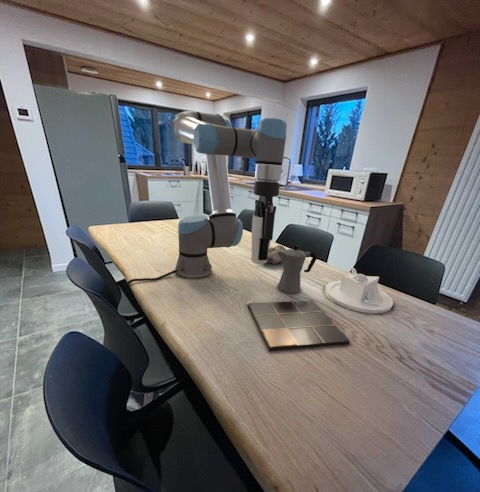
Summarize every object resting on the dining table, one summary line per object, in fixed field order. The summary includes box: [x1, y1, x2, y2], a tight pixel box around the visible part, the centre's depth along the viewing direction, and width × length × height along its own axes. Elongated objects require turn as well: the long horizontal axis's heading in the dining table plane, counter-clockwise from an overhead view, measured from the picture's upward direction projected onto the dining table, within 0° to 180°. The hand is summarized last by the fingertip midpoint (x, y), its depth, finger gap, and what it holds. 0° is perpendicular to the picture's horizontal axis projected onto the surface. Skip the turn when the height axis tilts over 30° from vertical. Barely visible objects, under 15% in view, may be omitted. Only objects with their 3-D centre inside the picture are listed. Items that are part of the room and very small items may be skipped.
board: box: [247, 300, 351, 352], centre depth 83 cm, size 24×24×1 cm
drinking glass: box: [250, 213, 272, 265], centre depth 85 cm, size 7×7×15 cm
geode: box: [266, 244, 287, 265], centre depth 133 cm, size 17×9×15 cm
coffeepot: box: [277, 244, 318, 294], centre depth 102 cm, size 15×9×18 cm, turn 92°
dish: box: [324, 266, 394, 314], centre depth 101 cm, size 25×25×11 cm
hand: (259, 256), depth 87 cm, fingers closed on drinking glass, 6 cm apart
